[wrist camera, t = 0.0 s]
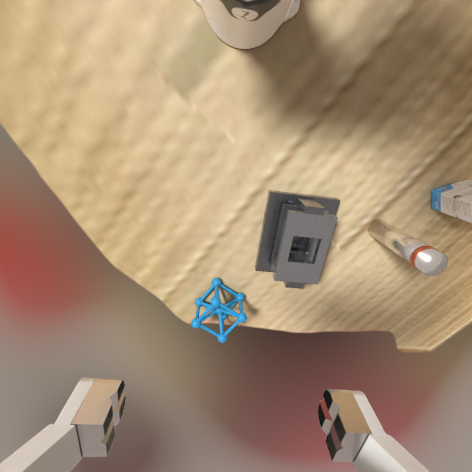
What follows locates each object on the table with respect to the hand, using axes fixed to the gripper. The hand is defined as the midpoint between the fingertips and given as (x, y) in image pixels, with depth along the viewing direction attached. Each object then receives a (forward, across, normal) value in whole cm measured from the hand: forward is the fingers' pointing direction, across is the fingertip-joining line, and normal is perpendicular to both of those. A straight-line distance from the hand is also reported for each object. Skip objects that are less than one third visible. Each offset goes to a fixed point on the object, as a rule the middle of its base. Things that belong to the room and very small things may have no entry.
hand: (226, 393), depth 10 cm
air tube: (+48, -38, +7) cm, 62 cm away
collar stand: (+48, -18, +11) cm, 52 cm away
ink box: (+48, -52, -3) cm, 71 cm away
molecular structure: (+48, -2, +31) cm, 58 cm away
